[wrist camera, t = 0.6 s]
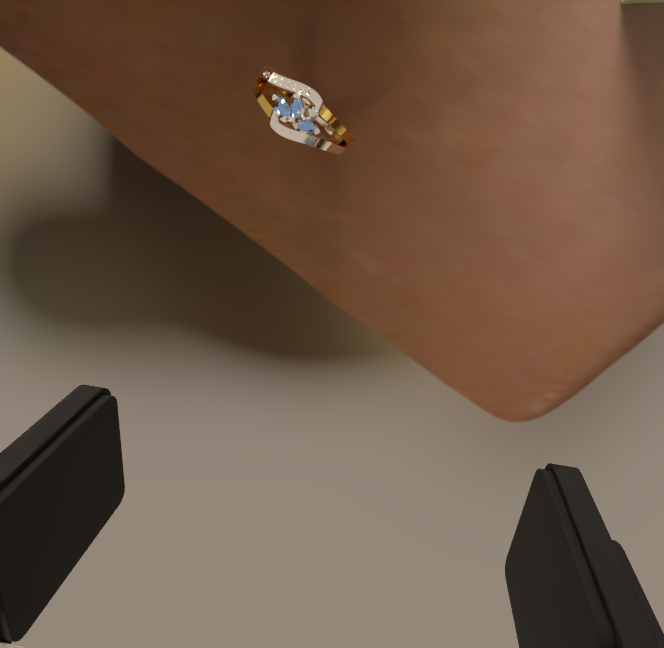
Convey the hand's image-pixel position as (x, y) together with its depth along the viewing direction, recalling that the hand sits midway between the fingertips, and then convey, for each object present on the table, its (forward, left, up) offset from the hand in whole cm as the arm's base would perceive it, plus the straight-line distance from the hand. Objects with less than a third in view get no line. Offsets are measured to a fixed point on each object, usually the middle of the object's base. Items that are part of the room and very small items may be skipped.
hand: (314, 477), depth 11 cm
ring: (-7, -5, -30) cm, 31 cm away
